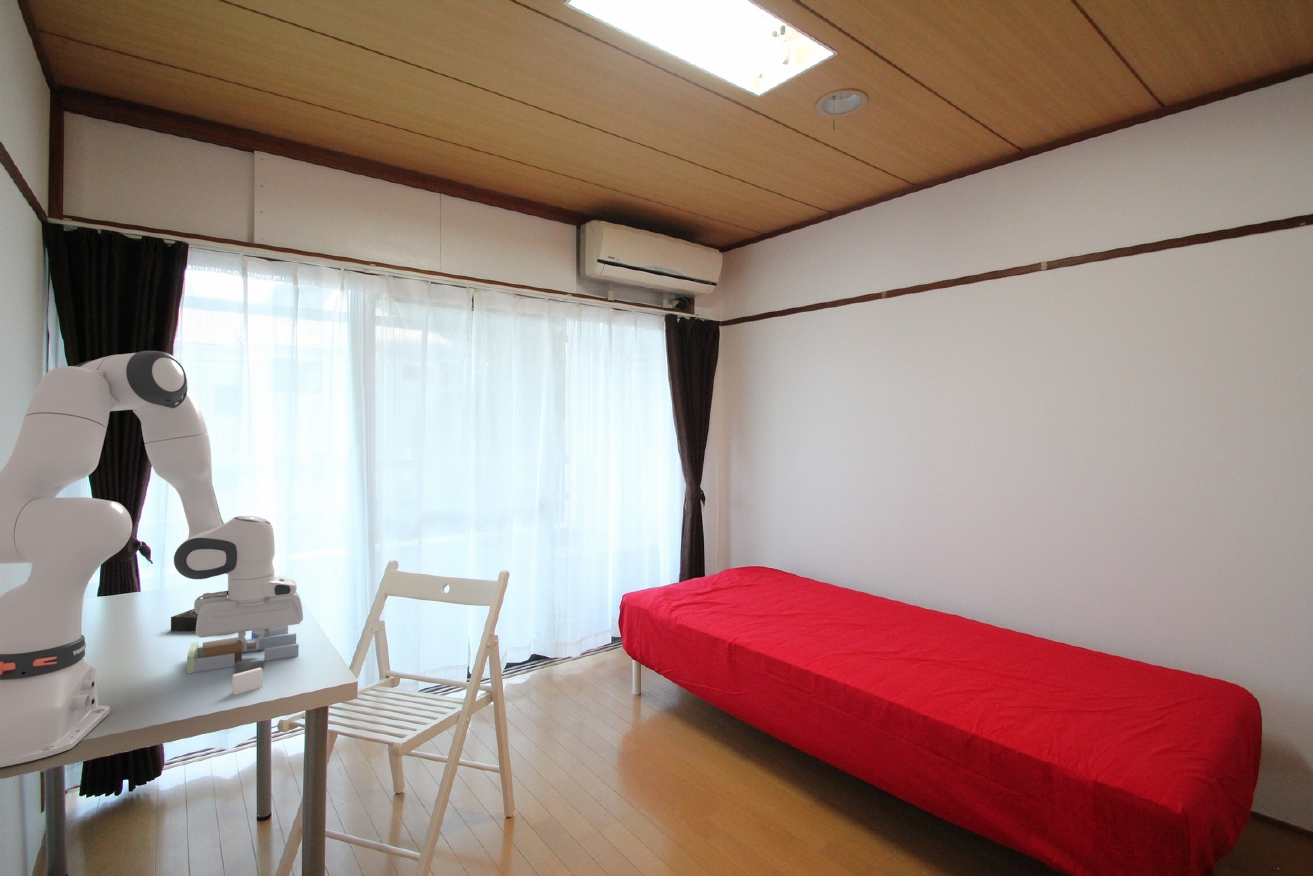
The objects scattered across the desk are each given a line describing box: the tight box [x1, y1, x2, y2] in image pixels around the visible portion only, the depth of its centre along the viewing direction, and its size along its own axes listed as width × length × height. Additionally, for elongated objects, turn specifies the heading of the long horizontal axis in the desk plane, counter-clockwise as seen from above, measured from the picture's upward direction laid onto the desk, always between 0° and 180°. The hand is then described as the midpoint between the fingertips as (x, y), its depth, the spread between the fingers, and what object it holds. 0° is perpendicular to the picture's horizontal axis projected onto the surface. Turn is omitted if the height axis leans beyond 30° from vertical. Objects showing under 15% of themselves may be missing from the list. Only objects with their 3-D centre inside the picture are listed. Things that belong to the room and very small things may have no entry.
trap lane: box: [186, 632, 299, 675], centre depth 139 cm, size 20×20×4 cm
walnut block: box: [202, 636, 243, 663], centre depth 137 cm, size 5×7×4 cm
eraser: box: [231, 668, 264, 695], centre depth 122 cm, size 1×5×4 cm, turn 143°
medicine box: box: [250, 625, 289, 639], centre depth 151 cm, size 8×4×9 cm, turn 62°
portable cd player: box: [170, 608, 198, 632], centre depth 166 cm, size 16×17×4 cm
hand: (251, 649), depth 140 cm, fingers closed
